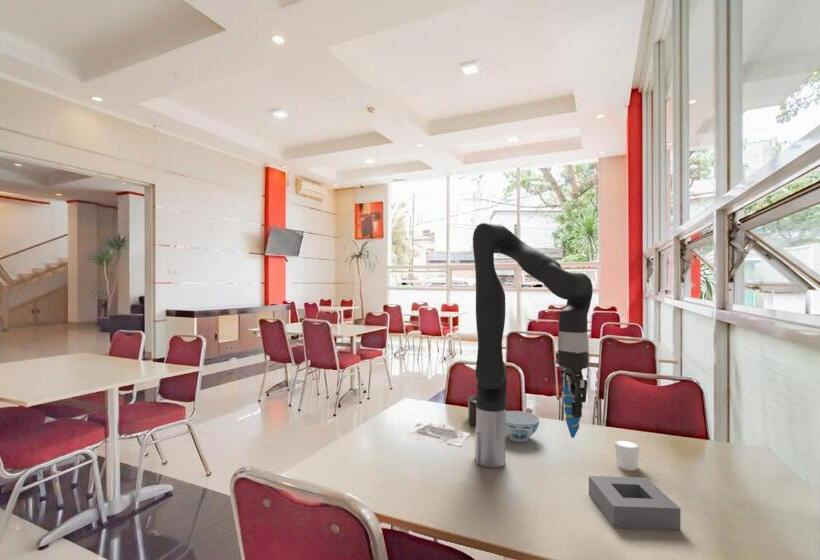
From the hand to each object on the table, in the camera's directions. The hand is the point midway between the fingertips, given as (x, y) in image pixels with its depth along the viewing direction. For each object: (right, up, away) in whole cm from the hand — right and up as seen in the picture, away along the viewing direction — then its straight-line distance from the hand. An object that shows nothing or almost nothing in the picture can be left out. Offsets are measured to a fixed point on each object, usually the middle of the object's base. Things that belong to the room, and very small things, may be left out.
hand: (573, 413), depth 107 cm
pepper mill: (-13, -23, +62) cm, 68 cm away
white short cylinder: (+25, -23, +20) cm, 39 cm away
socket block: (+12, -23, -5) cm, 26 cm away
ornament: (0, -7, 0) cm, 7 cm away
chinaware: (-3, -23, +43) cm, 48 cm away
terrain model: (-32, -24, +45) cm, 60 cm away
